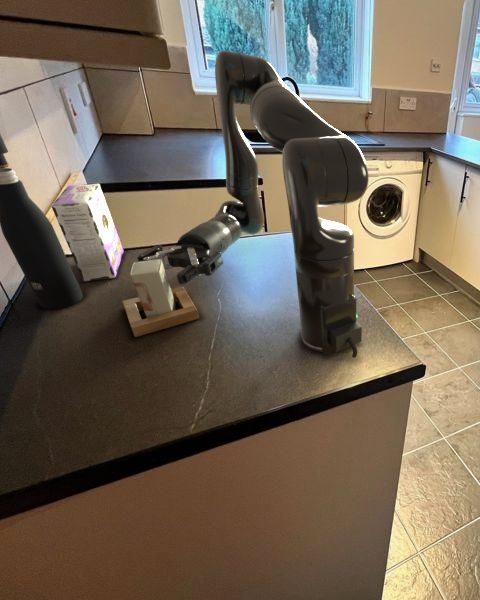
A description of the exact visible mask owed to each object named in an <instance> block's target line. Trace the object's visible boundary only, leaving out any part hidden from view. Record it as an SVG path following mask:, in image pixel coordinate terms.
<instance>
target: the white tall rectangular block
mask: <svg viewBox="0 0 480 600" xmlns="http://www.w3.org/2000/svg"><path fill="white" fill-rule="evenodd" d="M130 277H131V280H132V283H133V285H134V289H135V291H136V293H137V297H139V299H140V301H141V304H142V306H143V309H144V310H143V312H144V314H145V317H146V318H150V317H154V316H157V315H161V314H165V313H168V312H172V311H176V310H177V306H176V302H175V301H174V298H173V295H172V291H171V289H172V288H171V285H170V283H169V280H168V277H167V272H166V270H165V269H164V266H163V263H162V260H161V259H157V260H148V261H139V262H138V261H134V262H133V264H132V267H131V269H130Z"/></svg>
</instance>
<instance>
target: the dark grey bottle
mask: <svg viewBox="0 0 480 600" xmlns="http://www.w3.org/2000/svg"><path fill="white" fill-rule="evenodd" d="M8 153H9V150H8V148H7V145H6V144H5V141H4V139H3V136H2V135H1V133H0V230H1V232H2V235H3V237H4V239H5V241H6V243H7V245H8V247H9V248H10V250H11V252H12V254H13V257H14V258H15V260H16V262H17V264H18V265H19V267H20V269H21V271H22V273H23V275H24V277H25V280H26V282H27V283H28V285H29V287H30V289H31V290H32V293H33V294H34V296H35V298H36V300H37V302H38V304H39V305H40V307H41V308H43V309H46V310H57V309H62V308H67V307H70V306H73V305H74V304H76V303H78V302H80V301H81V300H82V299H83V297H84V295H83V292H82V290H81V287H80V285H79V282H78V280H77V278H76V276H75V273H74V272H73V269H72V267H71V265H70V262H69V260H68V258H67V256H66V253H65V251H64V249H63V246H62V244H61V242H60V240H59V237H58V235H57V232H56V231H55V229H54V226H53V224H52V222H51V221H50V219H49V217H47V216H46V214H45V213H44V212H43V210H42V209H41V208H40V207H39V206H38V205H37V204H36V203H35V202H34V201H33V200H32V198H30V197H29V194H28V192H27V190H26V188H25V186H24V183H23V181H22V180H20V179H19V176H17V175H16V174H17V172H16V171H15V170H14V169H13V168H10V164H9V162H8V161H7V159H6V157H5V155H4V154H8Z"/></svg>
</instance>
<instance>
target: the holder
mask: <svg viewBox="0 0 480 600" xmlns="http://www.w3.org/2000/svg"><path fill="white" fill-rule="evenodd" d="M171 291H172V295H173V298H174V301H175V303H176V302H177V303H178V305H179V307H180V308H179V309H176V310H175V311H172V312H168V313H165V314H161V315H157V316H154V317H150V318H147V317H146V318H143V319H142V317H141V314H140V312H141V311H144V309H143V306H142V304H141V301H140V299H139V296H137V297H133V298H128V299H125V300H122V305H123V308H124V311H125V314H126V317H127V319H128V322H129V325H130V329H131V331H132V333H133V336H134V338H137V337H141V336H143V335H144V336H145V335H148V334H150V333H154V332H155V333H156V332H159V331H161V330H165V329H169V328H171V327H176V326H179V325H182V324H185V323H189V322H192V321H196V320H199V319H200V316H199V312H198V309H197V307H196V306H195V304H194V302H193V301H192V299H191V298H190V295H189V294H188V292H187V290H186V289H185V287H184V285H183V286H182V285H181V286H177V287H174V288H171Z"/></svg>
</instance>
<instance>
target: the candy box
mask: <svg viewBox="0 0 480 600" xmlns="http://www.w3.org/2000/svg"><path fill="white" fill-rule="evenodd" d="M50 207H51V209H52V212H53V213H54V216H55V219H56V220H57V223H58V226H59V228H60V230H61V233H62V234H63V237H64V239H65V242H66V244H67V247H68V248H69V250H70V253H71V255H72V258H73V260H74V262H75V265H76V267H77V270H78V272H79V274H80V277H81V278H82V282H91V281H99V280H110V279H114V278H116V277H117V274H118V271H119V267H120V264H121V261H122V257H123V255H124V252H125V251H124V248H123V245H122V243H121V239H120V237H119V234H118V231H117V229H116V226H115V223H114V220H113V217H112V215H111V211H110V209H109V206H108V203H107V201H106V197H105V196H104V193H103V190H102V187H101V184H100V183H85V184H70V185H69V184H68V185H67V186H66V187H65V189H64V190H63V191H62V192H61V193H60V195H58V197H57V198H56V199H55V200H54V202H53V203H52V204H51V205H50Z"/></svg>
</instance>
